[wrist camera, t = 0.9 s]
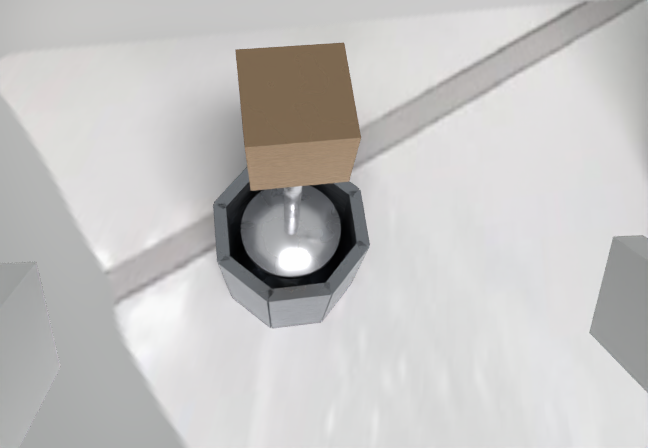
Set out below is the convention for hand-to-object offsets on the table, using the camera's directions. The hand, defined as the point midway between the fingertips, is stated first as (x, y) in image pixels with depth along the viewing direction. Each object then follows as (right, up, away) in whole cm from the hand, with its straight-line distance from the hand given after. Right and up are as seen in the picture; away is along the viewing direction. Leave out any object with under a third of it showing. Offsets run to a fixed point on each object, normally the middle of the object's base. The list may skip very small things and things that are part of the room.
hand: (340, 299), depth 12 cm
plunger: (-3, +1, +24) cm, 24 cm away
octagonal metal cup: (-3, -2, +32) cm, 32 cm away
